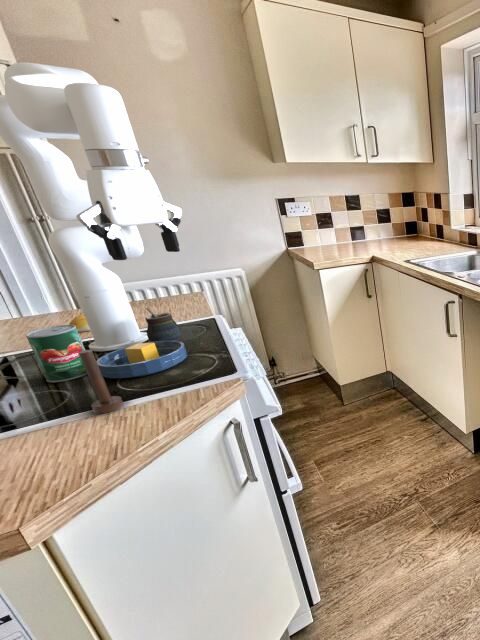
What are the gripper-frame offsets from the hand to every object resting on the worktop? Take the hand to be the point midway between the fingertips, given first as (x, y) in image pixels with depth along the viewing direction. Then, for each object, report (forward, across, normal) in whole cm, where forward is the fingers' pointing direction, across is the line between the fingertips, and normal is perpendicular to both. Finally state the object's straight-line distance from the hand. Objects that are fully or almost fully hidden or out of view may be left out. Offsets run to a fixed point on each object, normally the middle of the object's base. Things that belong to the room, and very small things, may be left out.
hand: (148, 255), depth 84 cm
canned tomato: (+27, +6, -31) cm, 42 cm away
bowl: (+27, -3, -19) cm, 33 cm away
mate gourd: (+27, -15, -30) cm, 44 cm away
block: (+27, -4, -21) cm, 34 cm away
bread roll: (+27, -18, -70) cm, 78 cm away
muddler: (+28, +14, -3) cm, 31 cm away
